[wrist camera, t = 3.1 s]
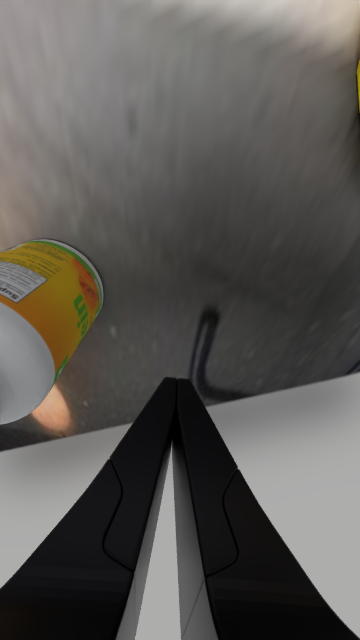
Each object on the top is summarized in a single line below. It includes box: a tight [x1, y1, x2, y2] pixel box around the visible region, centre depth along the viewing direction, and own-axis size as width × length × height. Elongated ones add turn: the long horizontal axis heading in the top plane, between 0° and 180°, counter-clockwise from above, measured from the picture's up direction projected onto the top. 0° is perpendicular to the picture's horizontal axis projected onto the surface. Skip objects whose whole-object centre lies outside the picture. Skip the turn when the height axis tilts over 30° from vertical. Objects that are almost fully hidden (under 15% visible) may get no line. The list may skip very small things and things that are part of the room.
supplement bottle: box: [0, 239, 104, 425], centre depth 10 cm, size 5×5×10 cm
